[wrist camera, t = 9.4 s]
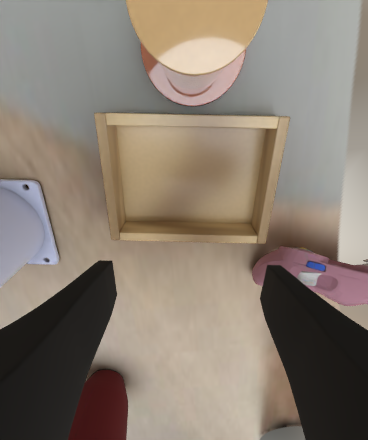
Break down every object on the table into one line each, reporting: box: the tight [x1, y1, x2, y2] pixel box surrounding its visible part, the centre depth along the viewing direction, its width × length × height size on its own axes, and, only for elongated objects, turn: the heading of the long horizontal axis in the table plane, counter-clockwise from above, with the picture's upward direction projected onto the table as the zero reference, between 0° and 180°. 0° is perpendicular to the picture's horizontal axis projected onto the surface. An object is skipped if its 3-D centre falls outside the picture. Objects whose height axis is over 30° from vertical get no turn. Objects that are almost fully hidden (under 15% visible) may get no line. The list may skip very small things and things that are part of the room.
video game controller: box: [252, 246, 368, 306], centre depth 19 cm, size 10×5×7 cm, turn 74°
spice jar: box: [126, 0, 268, 89], centre depth 11 cm, size 5×5×8 cm
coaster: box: [141, 43, 246, 106], centre depth 15 cm, size 7×7×1 cm
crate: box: [94, 113, 290, 244], centre depth 17 cm, size 12×9×3 cm
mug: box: [68, 370, 128, 440], centre depth 25 cm, size 10×8×10 cm
